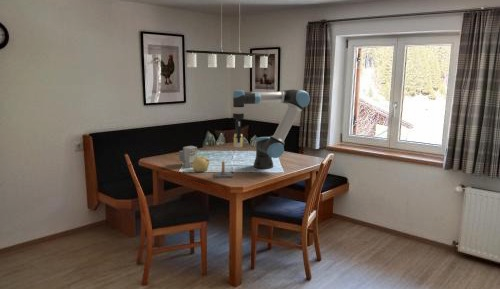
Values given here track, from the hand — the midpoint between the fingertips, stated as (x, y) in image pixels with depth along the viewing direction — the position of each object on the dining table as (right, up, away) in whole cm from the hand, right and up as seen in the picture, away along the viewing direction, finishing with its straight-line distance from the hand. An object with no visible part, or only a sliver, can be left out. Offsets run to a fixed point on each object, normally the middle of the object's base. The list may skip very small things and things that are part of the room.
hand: (237, 146), depth 268 cm
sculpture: (-28, -19, +15) cm, 37 cm away
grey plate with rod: (-10, -21, +3) cm, 24 cm away
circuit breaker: (-40, -15, +30) cm, 52 cm away
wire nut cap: (0, 0, 0) cm, 0 cm away
